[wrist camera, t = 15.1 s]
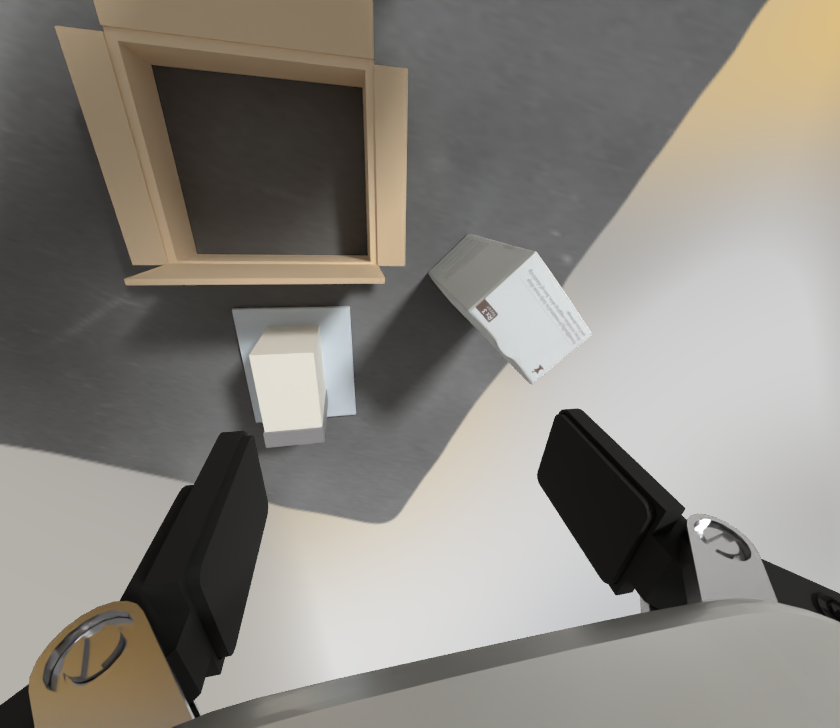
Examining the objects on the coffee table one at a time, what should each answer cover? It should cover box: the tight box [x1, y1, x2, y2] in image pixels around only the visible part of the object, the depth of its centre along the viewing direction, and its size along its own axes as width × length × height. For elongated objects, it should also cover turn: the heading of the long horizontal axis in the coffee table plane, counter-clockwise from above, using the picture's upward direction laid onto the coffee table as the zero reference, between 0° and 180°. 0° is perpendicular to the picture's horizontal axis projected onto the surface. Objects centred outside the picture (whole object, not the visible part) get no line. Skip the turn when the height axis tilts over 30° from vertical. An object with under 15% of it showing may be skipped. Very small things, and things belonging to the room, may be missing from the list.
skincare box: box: [428, 234, 592, 384], centre depth 29 cm, size 8×6×15 cm
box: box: [249, 325, 328, 448], centre depth 32 cm, size 9×5×7 cm, turn 178°
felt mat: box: [232, 306, 356, 423], centre depth 36 cm, size 13×11×1 cm
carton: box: [55, 0, 408, 285], centre depth 23 cm, size 17×21×10 cm
